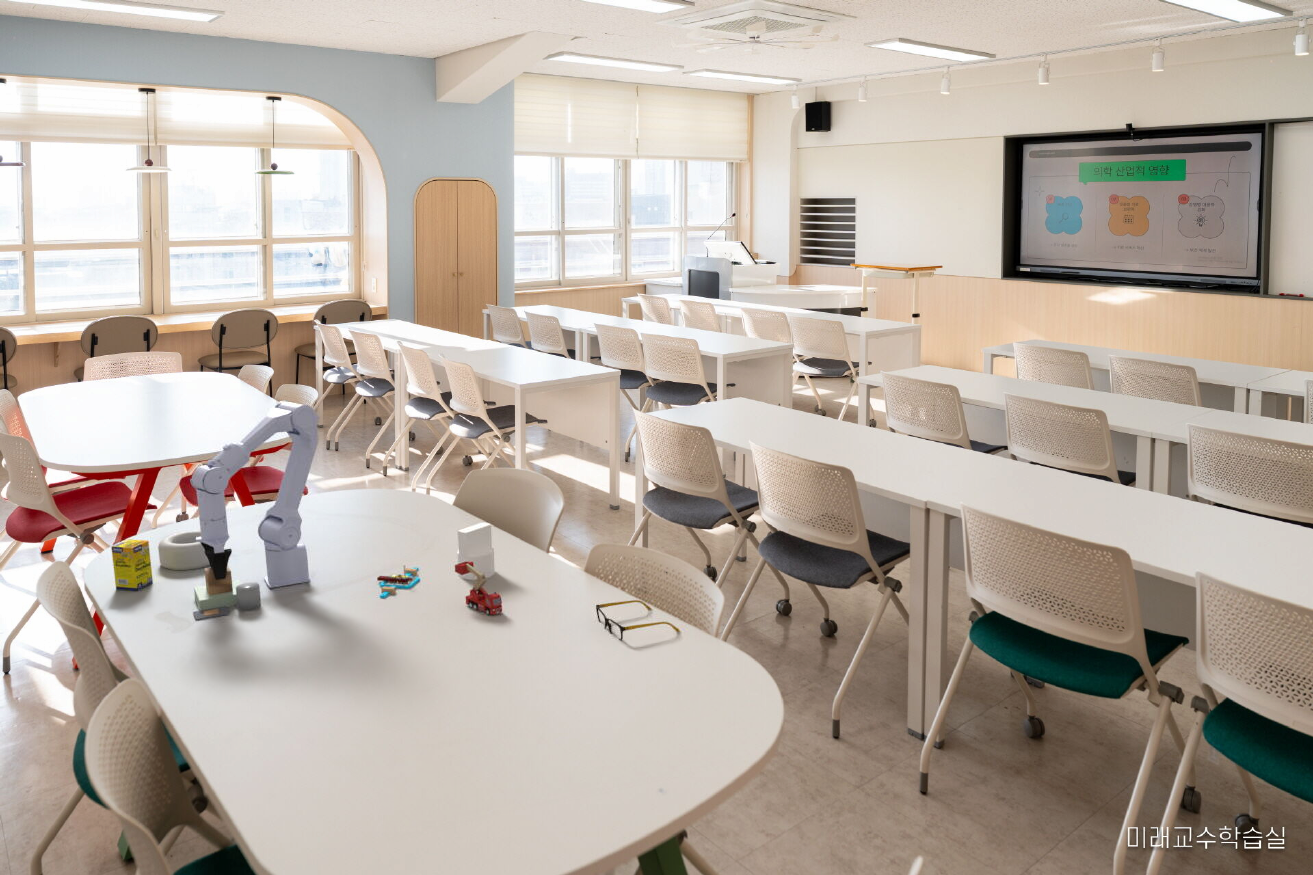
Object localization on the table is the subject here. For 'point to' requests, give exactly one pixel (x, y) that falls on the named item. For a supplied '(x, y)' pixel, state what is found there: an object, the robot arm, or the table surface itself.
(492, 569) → the base with upright slab
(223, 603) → the sage slab
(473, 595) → the toy fire truck
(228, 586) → the walnut cube
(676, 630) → the eyeglasses
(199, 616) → the card
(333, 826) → the table surface
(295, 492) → the robot arm
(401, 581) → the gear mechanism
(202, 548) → the donut shape
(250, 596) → the grey cylinder
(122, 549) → the supplement box
